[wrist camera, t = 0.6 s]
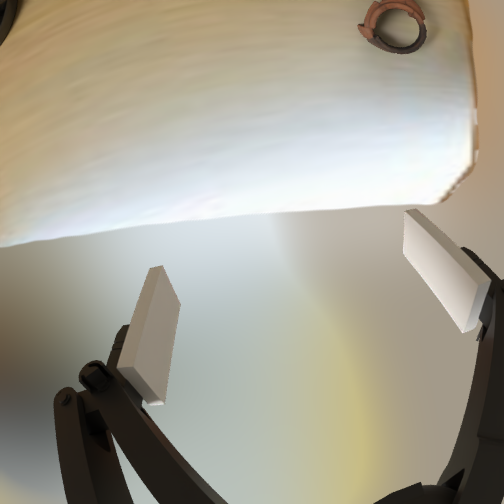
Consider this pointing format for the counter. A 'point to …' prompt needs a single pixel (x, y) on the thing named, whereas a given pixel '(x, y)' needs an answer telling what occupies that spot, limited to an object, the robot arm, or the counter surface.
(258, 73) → the counter surface
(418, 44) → the pottery mug
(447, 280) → the robot arm
